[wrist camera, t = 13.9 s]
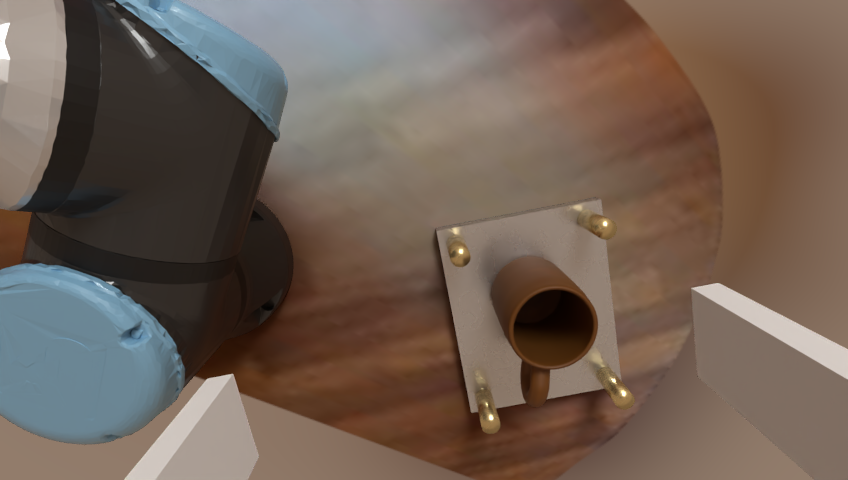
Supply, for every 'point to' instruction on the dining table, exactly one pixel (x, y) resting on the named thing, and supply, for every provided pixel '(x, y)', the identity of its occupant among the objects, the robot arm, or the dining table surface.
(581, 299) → the mug
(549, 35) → the dining table surface
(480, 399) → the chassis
